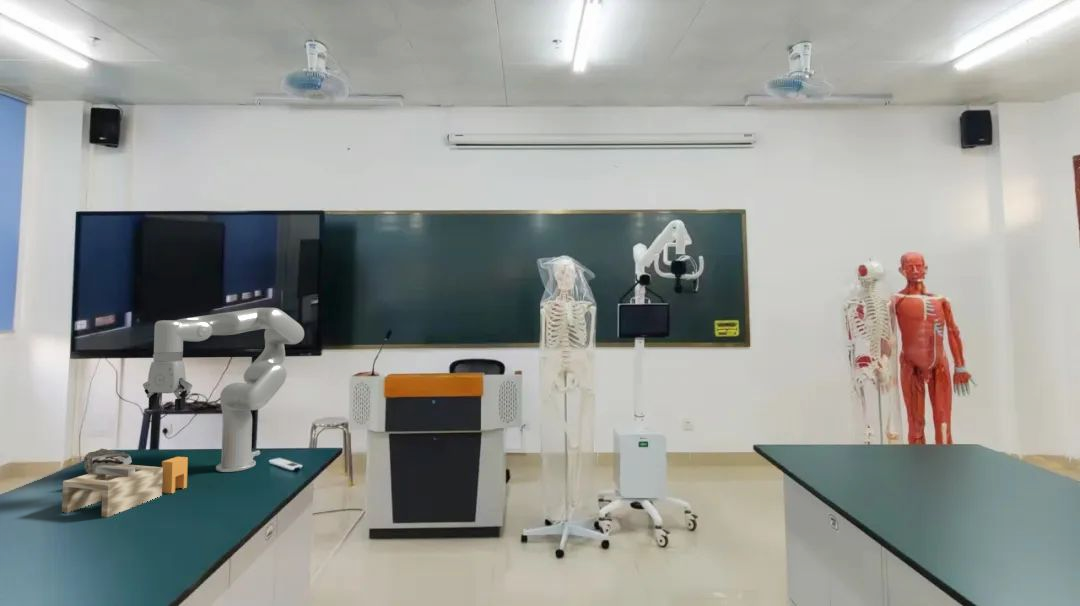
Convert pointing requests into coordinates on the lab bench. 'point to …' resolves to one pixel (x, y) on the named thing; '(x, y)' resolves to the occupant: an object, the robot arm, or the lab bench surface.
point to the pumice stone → (96, 454)
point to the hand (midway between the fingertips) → (166, 409)
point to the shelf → (113, 488)
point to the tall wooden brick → (174, 474)
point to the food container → (110, 460)
